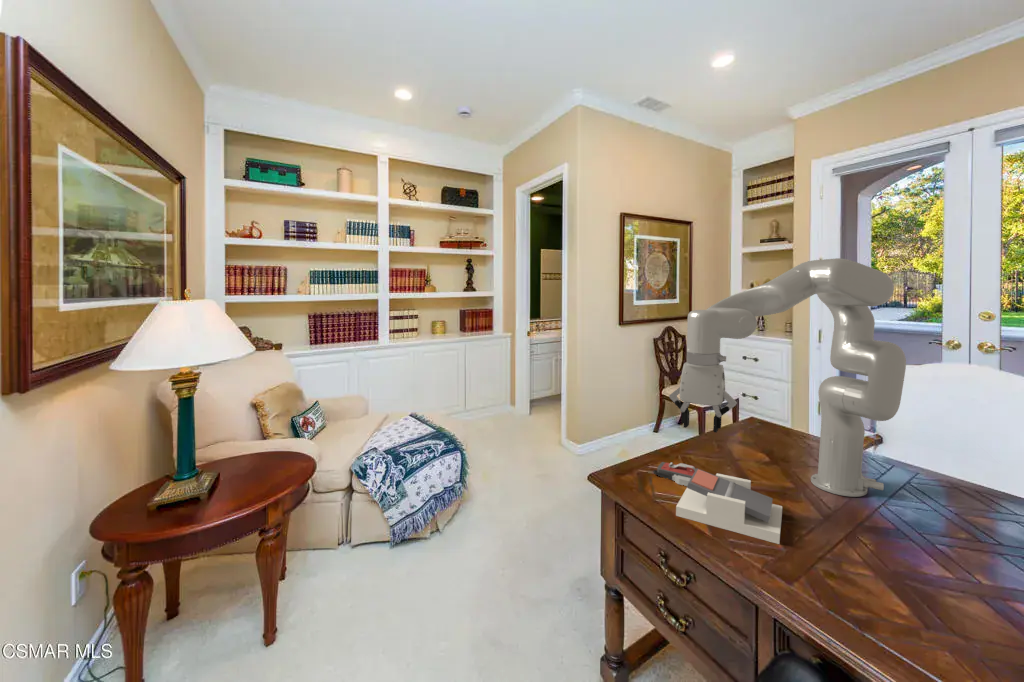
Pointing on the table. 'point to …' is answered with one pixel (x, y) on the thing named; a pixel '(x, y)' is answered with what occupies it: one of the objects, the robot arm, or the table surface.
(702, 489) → the rocker
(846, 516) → the table surface
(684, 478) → the walkie-talkie
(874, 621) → the table surface
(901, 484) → the table surface
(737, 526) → the switch housing
